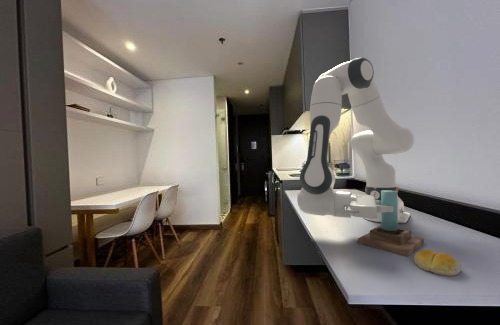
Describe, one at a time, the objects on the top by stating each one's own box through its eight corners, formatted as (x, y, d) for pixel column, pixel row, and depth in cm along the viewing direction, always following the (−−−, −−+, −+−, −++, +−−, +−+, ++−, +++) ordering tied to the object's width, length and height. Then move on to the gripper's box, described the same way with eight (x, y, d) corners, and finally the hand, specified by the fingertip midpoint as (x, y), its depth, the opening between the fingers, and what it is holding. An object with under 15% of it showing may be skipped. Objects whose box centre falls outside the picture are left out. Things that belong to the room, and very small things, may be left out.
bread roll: (422, 257, 65) (422, 243, 65) (464, 270, 57) (464, 254, 57) (407, 265, 60) (406, 250, 60) (451, 280, 53) (450, 263, 53)
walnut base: (377, 232, 85) (376, 221, 85) (423, 243, 74) (423, 230, 74) (358, 242, 76) (357, 230, 76) (407, 256, 65) (407, 241, 65)
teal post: (383, 225, 78) (382, 189, 78) (398, 228, 75) (398, 190, 75) (380, 229, 75) (379, 191, 74) (396, 231, 72) (395, 192, 71)
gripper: (342, 200, 71) (396, 203, 65) (347, 190, 89) (389, 192, 83) (343, 221, 71) (396, 226, 65) (347, 207, 89) (389, 210, 83)
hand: (392, 207), depth 74 cm, fingers closed on teal post, 4 cm apart
